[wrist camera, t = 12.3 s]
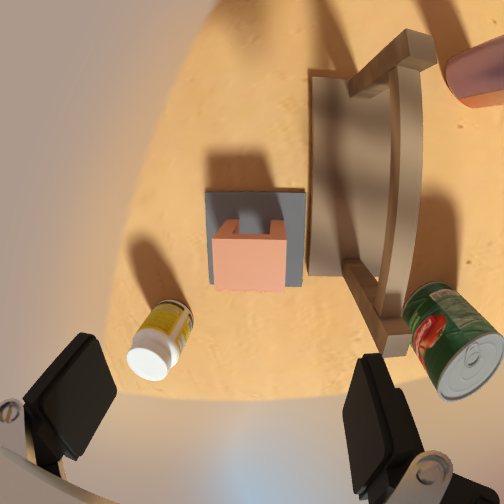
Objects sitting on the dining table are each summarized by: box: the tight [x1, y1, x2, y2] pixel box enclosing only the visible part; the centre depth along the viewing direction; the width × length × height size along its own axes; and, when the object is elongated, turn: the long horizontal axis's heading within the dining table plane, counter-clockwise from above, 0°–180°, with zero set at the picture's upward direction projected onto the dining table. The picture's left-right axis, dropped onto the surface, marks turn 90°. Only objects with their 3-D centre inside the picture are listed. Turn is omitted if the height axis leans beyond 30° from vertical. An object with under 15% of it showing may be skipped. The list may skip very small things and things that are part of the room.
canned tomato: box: [401, 281, 504, 402], centre depth 23 cm, size 8×8×11 cm
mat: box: [205, 192, 306, 287], centre depth 27 cm, size 9×9×1 cm
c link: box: [212, 219, 287, 293], centre depth 24 cm, size 4×5×6 cm
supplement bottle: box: [127, 300, 194, 381], centre depth 27 cm, size 5×5×8 cm
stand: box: [307, 29, 437, 358], centre depth 18 cm, size 18×8×14 cm, turn 0°
